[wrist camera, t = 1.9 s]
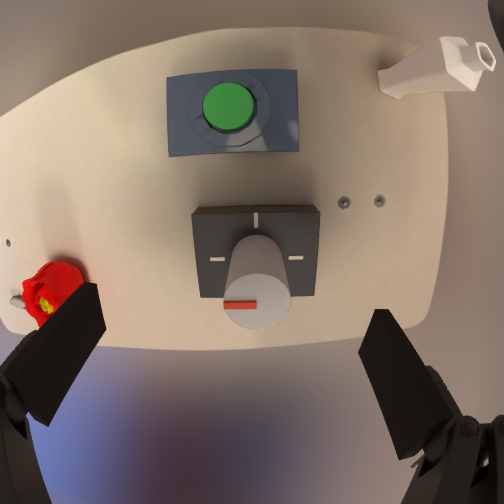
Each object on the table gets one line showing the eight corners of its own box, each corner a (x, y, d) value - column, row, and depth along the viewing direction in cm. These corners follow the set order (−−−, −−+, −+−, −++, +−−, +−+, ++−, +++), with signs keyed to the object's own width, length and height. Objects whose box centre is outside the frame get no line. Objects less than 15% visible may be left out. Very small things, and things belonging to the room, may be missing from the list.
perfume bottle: (383, 106, 23) (480, 91, 9) (368, 69, 22) (454, 26, 8) (414, 99, 22) (513, 88, 9) (400, 64, 21) (491, 31, 7)
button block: (293, 75, 22) (299, 64, 19) (295, 151, 26) (302, 152, 22) (172, 81, 23) (160, 73, 19) (175, 156, 26) (162, 158, 22)
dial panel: (314, 204, 28) (320, 212, 25) (309, 282, 31) (314, 296, 28) (197, 207, 28) (190, 214, 25) (204, 284, 31) (200, 298, 28)
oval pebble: (32, 297, 33) (29, 300, 32) (36, 309, 34) (32, 313, 33) (10, 292, 33) (7, 295, 32) (14, 304, 34) (11, 307, 33)
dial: (282, 233, 26) (293, 274, 18) (280, 279, 27) (289, 331, 20) (230, 235, 26) (220, 275, 18) (233, 280, 28) (225, 332, 20)
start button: (252, 85, 20) (252, 81, 18) (254, 129, 21) (254, 128, 20) (205, 88, 20) (202, 84, 18) (206, 131, 22) (203, 130, 20)
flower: (48, 280, 32) (17, 308, 24) (59, 240, 29) (22, 266, 22) (87, 312, 33) (60, 346, 26) (102, 275, 31) (71, 309, 24)
